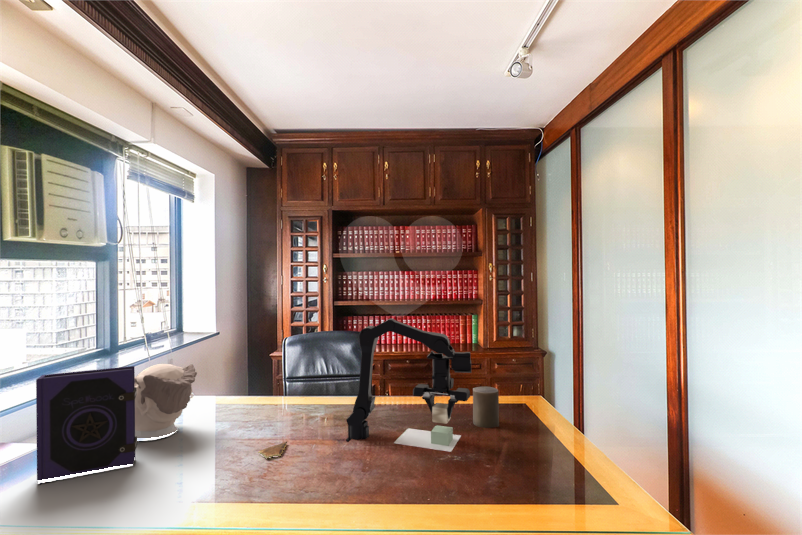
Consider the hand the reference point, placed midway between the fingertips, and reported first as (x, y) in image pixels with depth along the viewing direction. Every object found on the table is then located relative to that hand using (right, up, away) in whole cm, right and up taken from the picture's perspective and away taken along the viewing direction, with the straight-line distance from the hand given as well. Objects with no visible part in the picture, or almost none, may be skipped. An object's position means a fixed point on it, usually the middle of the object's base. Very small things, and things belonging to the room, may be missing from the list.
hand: (441, 417), depth 143 cm
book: (-107, -11, -17) cm, 109 cm away
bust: (-102, -11, +11) cm, 103 cm away
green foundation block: (0, -8, 0) cm, 8 cm away
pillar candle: (+18, -9, +16) cm, 26 cm away
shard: (-56, -11, -5) cm, 58 cm away
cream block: (0, -1, 0) cm, 1 cm away
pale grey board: (-4, -9, +2) cm, 10 cm away
